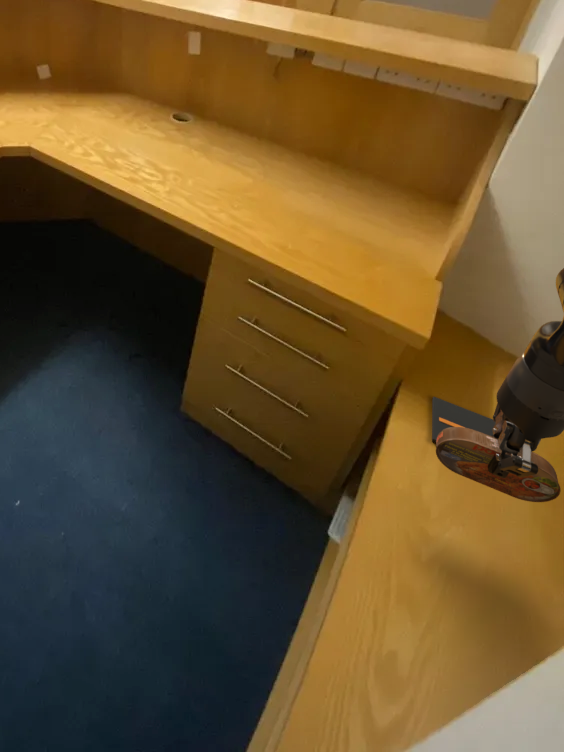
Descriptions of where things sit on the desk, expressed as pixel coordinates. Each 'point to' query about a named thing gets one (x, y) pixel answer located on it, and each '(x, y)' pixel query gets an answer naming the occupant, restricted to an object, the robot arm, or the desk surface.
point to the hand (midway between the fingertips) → (494, 462)
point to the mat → (457, 418)
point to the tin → (474, 453)
